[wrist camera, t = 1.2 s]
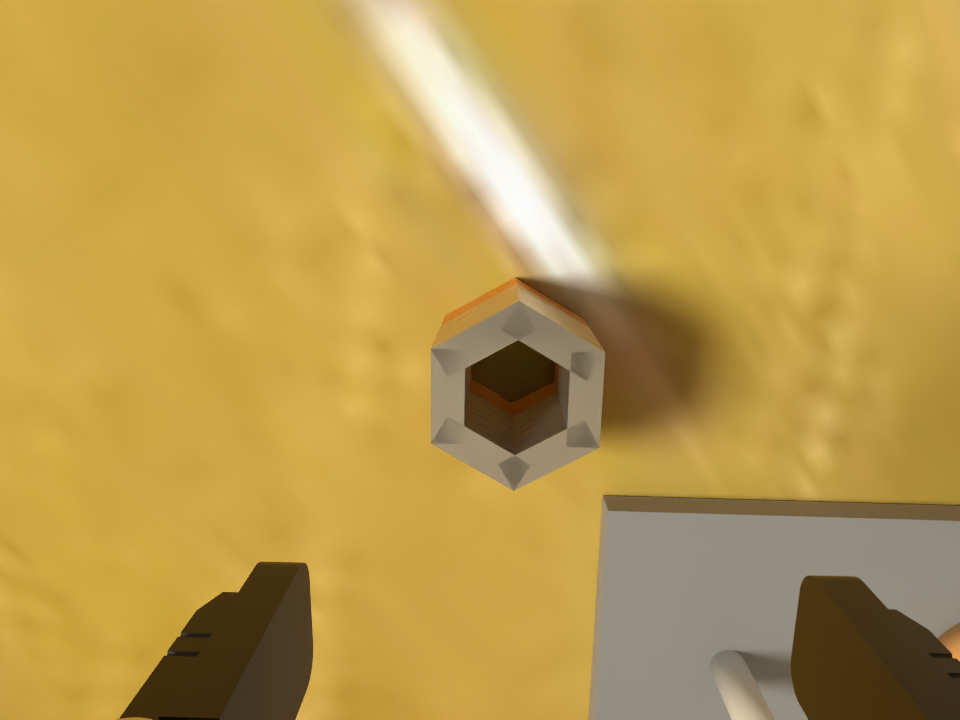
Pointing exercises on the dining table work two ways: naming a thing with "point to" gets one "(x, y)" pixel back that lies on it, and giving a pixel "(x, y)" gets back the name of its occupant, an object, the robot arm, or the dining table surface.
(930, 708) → the robot arm
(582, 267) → the dining table surface
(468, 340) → the sleeve
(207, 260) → the dining table surface
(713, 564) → the pin board
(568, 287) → the dining table surface
